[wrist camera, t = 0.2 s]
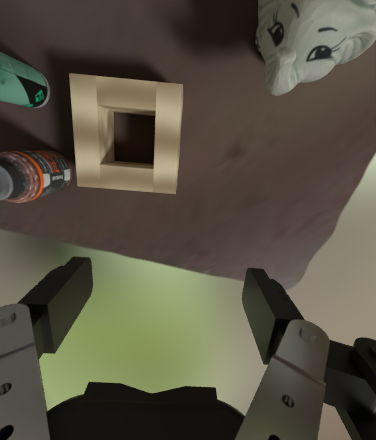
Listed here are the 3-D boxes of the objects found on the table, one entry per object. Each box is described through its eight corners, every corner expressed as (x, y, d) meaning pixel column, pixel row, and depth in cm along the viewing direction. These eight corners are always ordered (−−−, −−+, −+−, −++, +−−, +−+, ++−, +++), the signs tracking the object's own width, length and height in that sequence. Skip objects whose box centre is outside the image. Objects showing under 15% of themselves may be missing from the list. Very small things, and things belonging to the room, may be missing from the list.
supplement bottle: (81, 164, 38) (32, 175, 26) (64, 197, 40) (11, 221, 28) (42, 140, 37) (-28, 139, 25) (27, 175, 39) (-46, 190, 26)
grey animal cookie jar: (242, 112, 36) (299, 82, 18) (216, -2, 31) (258, -194, 13) (348, 75, 34) (523, 2, 17) (337, -51, 30) (565, -341, 12)
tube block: (91, 86, 34) (69, 73, 28) (183, 95, 35) (182, 84, 28) (95, 178, 39) (77, 186, 32) (177, 185, 39) (175, 193, 33)
